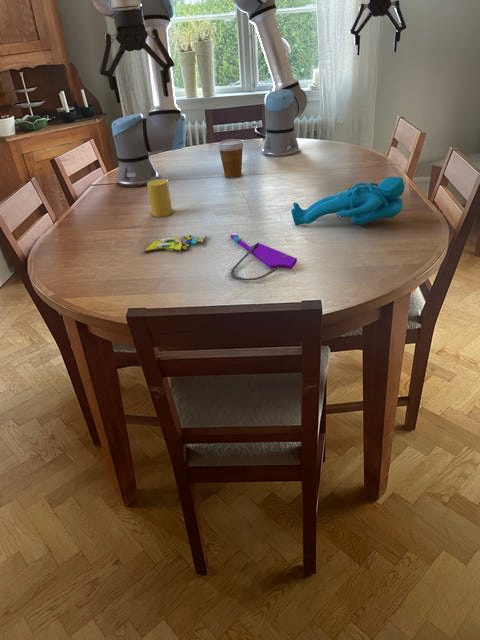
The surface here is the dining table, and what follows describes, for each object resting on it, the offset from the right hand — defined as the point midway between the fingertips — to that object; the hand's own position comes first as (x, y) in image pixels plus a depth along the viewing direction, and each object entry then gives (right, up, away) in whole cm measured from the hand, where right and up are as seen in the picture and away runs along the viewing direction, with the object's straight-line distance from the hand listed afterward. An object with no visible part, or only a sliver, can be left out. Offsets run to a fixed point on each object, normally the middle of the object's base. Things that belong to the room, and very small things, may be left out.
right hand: (376, 53), depth 183 cm
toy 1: (-69, -81, -52) cm, 119 cm away
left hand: (-79, -40, -48) cm, 101 cm away
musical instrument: (-49, -87, -64) cm, 119 cm away
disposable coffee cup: (-54, -47, -2) cm, 72 cm away
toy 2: (-22, -75, -49) cm, 92 cm away
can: (-77, -68, -30) cm, 107 cm away
